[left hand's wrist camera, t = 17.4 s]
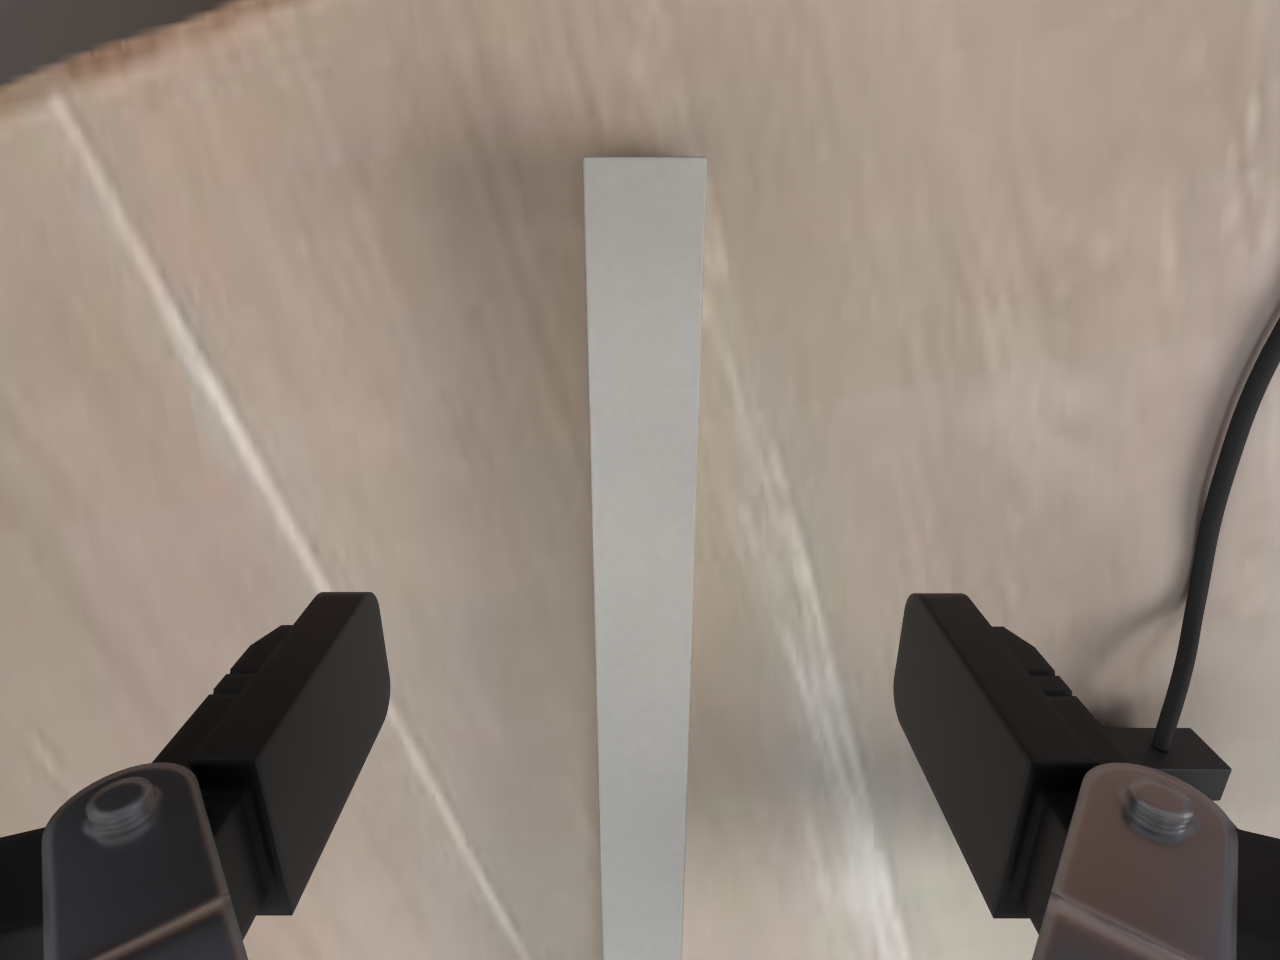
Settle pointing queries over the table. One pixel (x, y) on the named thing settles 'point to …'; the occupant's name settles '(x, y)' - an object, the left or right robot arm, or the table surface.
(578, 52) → the table surface
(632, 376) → the bar
